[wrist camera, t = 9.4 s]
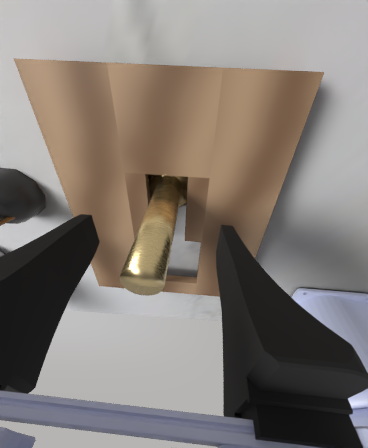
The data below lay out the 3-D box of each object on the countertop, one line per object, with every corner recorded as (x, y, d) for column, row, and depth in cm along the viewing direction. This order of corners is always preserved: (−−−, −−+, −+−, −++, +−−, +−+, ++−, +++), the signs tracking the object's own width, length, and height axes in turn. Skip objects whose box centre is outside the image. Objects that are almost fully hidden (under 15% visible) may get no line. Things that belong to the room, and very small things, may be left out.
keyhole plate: (305, 72, 12) (324, 72, 10) (237, 281, 24) (240, 298, 22) (41, 60, 12) (13, 58, 10) (107, 269, 25) (99, 285, 23)
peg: (194, 158, 15) (185, 251, 7) (195, 202, 18) (188, 308, 10) (143, 158, 16) (83, 248, 8) (151, 202, 18) (110, 304, 10)
